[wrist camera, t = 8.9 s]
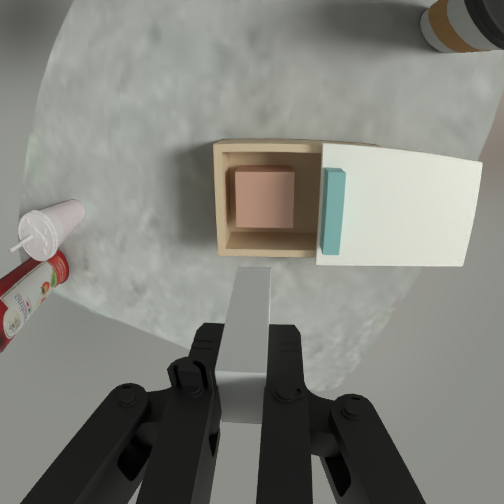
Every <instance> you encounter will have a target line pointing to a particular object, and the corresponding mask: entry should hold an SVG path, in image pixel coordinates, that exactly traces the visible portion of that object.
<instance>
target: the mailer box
mask: <svg viewBox="0 0 504 504" xmlns="http://www.w3.org/2000/svg"><path fill="white" fill-rule="evenodd" d="M322 143H337V144H352V145H364V146H375V147H381V146H378V145H375V144H365V143H353V142H339V141H322V140H300V139H222V140H220V141H218V142H216V143H215V144H213V153H214V180H215V203H216V224H217V242H218V256H265V257H316V245H317V231H318V216H319V200H320V180H321V156H322Z"/></svg>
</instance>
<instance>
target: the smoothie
mask: <svg viewBox="0 0 504 504" xmlns="http://www.w3.org/2000/svg"><path fill="white" fill-rule="evenodd" d="M84 217H85V210H84V207H83V206H82V204H81V203H80V202H79V201H77V200H69V201H66V202H63V203H60V204H57V205H54V206H51V207H48V208H45V209H42V210H39V211H37V210H32V211H29V212H28V213H27V214H25V215H24V216H23V217H22V218H21V219H20V222H19V225H18V235H19V239H20V242H19V243H17V244H16V245H15V246H13V247H12V248H10V249H9V253H10V254H11V253H13V252H14V251H15V250H17V249H18V248H20V247H21V246H23V248H24V250H25V251H26V252H27V254H28V255H29V256H31V257H32V258H33V259H35V260H38V261H46V260H48V259H49V258H51V257H53V256H54V255H55V253H56V251H57V249H58V247H59V246H60V245H61V243H62V242H63V241H64V240H65V239H66V238H67V237H68V236H69V235H70V234H71V233H72V232H73V231H74V230H75V228H76V227H77V226H78V225H79V224H80V223H81V222H82V221H83V220H84Z"/></svg>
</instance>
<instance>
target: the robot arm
mask: <svg viewBox="0 0 504 504" xmlns="http://www.w3.org/2000/svg"><path fill="white" fill-rule="evenodd" d="M270 273H271V267H238V269H237V273H236V278H235V282H234V286H233V291H232V295H231V300H230V304H229V309H228V313H227V318H226V322H225V324H220V323H204V324H203V325H202V326H201V327H200V328H199V329H198V330H197V331H196V334H195V337H194V341H193V343H192V346H191V349H190V352H189V356H188V357H183V358H180V359H177V360H175V361H174V362H173V363H171V365H170V366H169V367H168V369H167V371H168V375H169V379H170V382H171V386H172V387H170V388H168V389H164V390H160V391H152V392H146V391H145V389H144V388H143V387H141V386H140V385H138V384H133V383H127V384H122V385H119V386H117V387H116V388H115V389H113V390H112V391H111V392H110V393H109V395H108V396H107V397H106V398H105V399H104V401H103V402H102V403H101V404H100V406H99V407H98V408H97V409H96V410H95V412H94V413H93V414H92V415H91V417H90V418H89V419H88V420H87V421H86V423H85V424H84V425H83V426H82V428H81V429H80V430H79V431H78V432H77V433H76V435H75V436H74V437H73V438H72V440H71V441H70V442H69V443H68V445H67V446H66V447H65V448H64V449H63V451H62V452H61V453H60V454H59V456H58V457H57V458H56V459H55V461H54V462H53V463H52V464H51V466H50V467H49V468H48V469H47V470H46V472H45V473H44V474H43V475H42V477H41V478H40V479H39V481H38V482H37V483H36V484H35V485H34V487H33V488H32V489H31V491H30V492H29V493H28V494H27V496H26V497H25V498H24V499H23V501H22V502H21V503H20V504H128V502H129V500H130V499H131V497H132V496H133V494H134V492H135V491H136V489H137V488H138V486H139V485H140V483H141V481H142V480H143V481H142V484H141V488H140V491H139V494H138V497H137V501H136V504H209V502H210V495H211V490H212V484H213V477H214V471H215V465H216V459H217V452H218V446H219V440H220V427H219V425H220V419H222V422H233V423H252V424H262V428H261V429H262V430H261V443H260V457H259V458H260V459H259V471H258V485H257V497H256V504H313V498H312V497H313V496H312V469H311V468H312V467H311V454H313V455H317V456H319V457H320V460H321V463H322V465H323V468H324V471H325V473H326V476H327V479H328V481H329V484H330V487H331V490H332V492H333V495H334V498H335V500H336V503H337V504H426V503H425V501H424V499H423V497H422V495H421V493H420V491H419V489H418V487H417V485H416V484H415V482H414V480H413V478H412V476H411V474H410V472H409V470H408V469H407V467H406V465H405V463H404V461H403V459H402V457H401V456H400V454H399V452H398V450H397V448H396V446H395V444H394V443H393V441H392V439H391V437H390V435H389V434H388V432H387V430H386V428H385V426H384V425H383V423H382V421H381V419H380V417H379V416H378V414H377V412H376V410H375V408H374V406H373V405H372V403H371V402H370V401H369V400H368V399H367V398H364V397H363V396H361V395H357V394H345V395H343V396H340V397H338V398H337V399H336V400H335V401H333V400H329V399H325V398H321V397H318V396H316V395H314V394H313V393H311V392H310V391H309V390H308V389H307V387H306V385H305V382H304V373H303V359H302V347H301V335H300V332H299V331H298V329H297V328H296V326H295V325H277V324H269V322H270Z"/></svg>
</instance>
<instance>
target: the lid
mask: <svg viewBox="0 0 504 504" xmlns="http://www.w3.org/2000/svg"><path fill="white" fill-rule="evenodd" d="M481 170H482V162H479V161H474V160H468V159H463V158H457V157H451V156H445V155H439V154H432V153H425V152H418V151H411V150H402V149H394V148H385V147H375V146H364V145H352V144H337V143H322V156H321V180H320V200H319V216H318V231H317V245H316V257H315V263H316V265H356V266H463V263H464V259H465V255H466V251H467V247H468V243H469V238H470V234H471V229H472V225H473V219H474V215H475V210H476V204H477V198H478V192H479V186H480V179H481Z"/></svg>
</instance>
